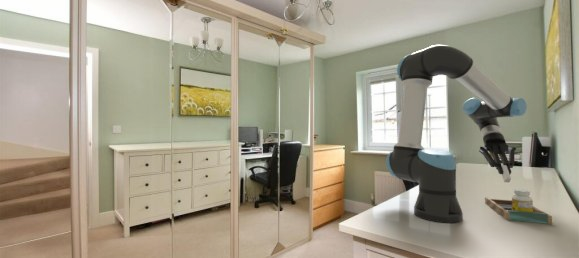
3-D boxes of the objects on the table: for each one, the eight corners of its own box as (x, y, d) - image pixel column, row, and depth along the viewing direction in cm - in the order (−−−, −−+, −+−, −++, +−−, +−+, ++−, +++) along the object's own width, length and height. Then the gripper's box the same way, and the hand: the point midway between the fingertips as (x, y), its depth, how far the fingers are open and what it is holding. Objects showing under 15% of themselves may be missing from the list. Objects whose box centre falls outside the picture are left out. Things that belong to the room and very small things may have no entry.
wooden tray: (485, 203, 108) (485, 196, 108) (521, 206, 103) (521, 198, 103) (506, 219, 88) (505, 210, 88) (552, 224, 83) (551, 214, 83)
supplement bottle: (533, 221, 85) (533, 192, 85) (512, 218, 89) (511, 190, 89) (532, 217, 89) (531, 190, 90) (512, 214, 93) (511, 188, 93)
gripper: (508, 143, 116) (526, 187, 101) (474, 142, 121) (485, 184, 106) (513, 131, 112) (532, 175, 96) (477, 131, 117) (489, 173, 101)
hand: (507, 180), depth 101 cm, fingers closed
